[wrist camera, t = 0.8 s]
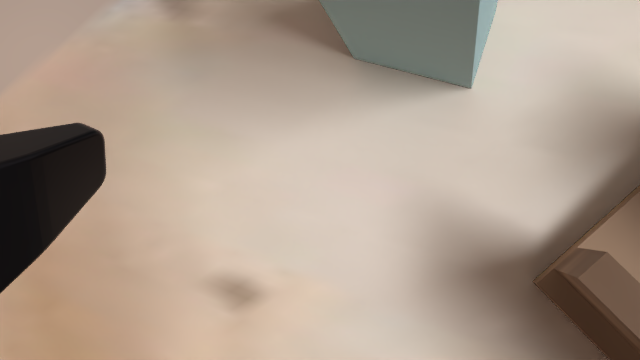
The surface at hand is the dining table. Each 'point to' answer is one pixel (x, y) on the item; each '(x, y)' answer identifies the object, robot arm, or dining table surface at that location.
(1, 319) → the dining table surface
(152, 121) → the dining table surface
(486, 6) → the pale teal box
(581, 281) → the rack
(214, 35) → the dining table surface
